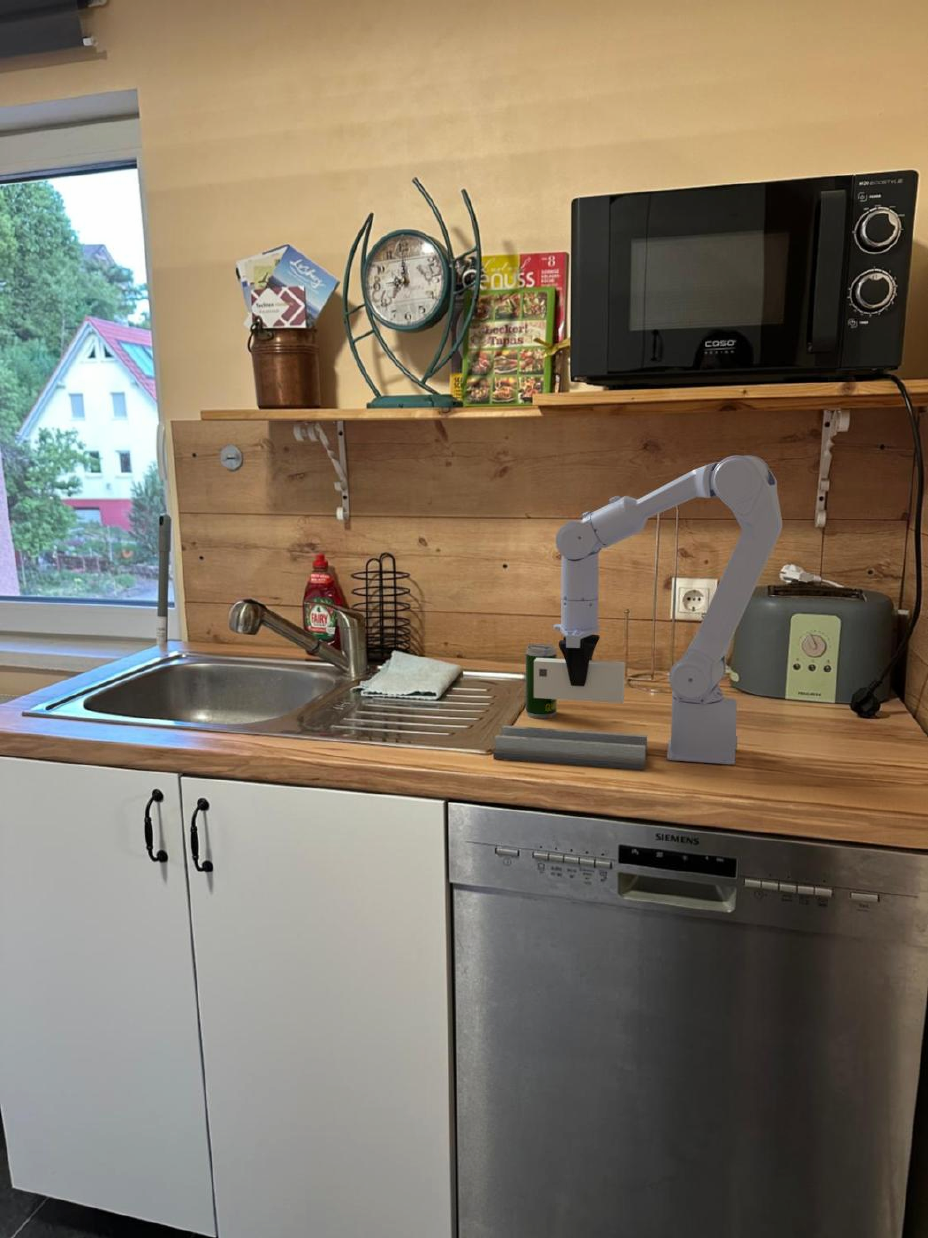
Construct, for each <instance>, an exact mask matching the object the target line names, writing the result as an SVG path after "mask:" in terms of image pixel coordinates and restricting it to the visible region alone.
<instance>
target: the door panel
mask: <svg viewBox="0 0 928 1238" xmlns="http://www.w3.org/2000/svg"><path fill="white" fill-rule="evenodd" d="M625 669H626V662H625V661H612V660H611V661H609V660H606V661H605V660H593V659H592V660H590V661H589V666H588V672H587V678H586V682H585V685H584V686H571V683H570V680H569V675H568V669H567V665H566V661H565V658H557V659H552V658H536V659H535V660H534V698H545V699H557V700H562V701H563V700H565V701H578V702H579V701H580V702H597V703H611V704H613V703H614V704H623V703H624V701H625V675H626V674H625V672H626V671H625Z"/></svg>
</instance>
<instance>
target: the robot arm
mask: <svg viewBox="0 0 928 1238" xmlns="http://www.w3.org/2000/svg"><path fill="white" fill-rule="evenodd" d="M716 497H718V499H720V500H721V501H722V503H724V504H725V506H727V507H728V508H729V509H730V510H731V511H732V513H733V515H734V517H735V519H736V521H737V523H738V525H739V527H740V528H741V533H740V536H739V537H738V540H737V542H736V544H735V547H734V548H733V551H732V553H731V556H730V558H729V559H728V562H727V565H726V567H725V569H724V571H723V573H722V576H721V577H720V580H719V583H718V585H717V587H716V590H715V592H714V594H713V596H712V598H711V600H710V603H709V605H708V608H707V610H706V612H705V614H704V617H703V619H702V621H701V624H700V626H699V627H698V630H697V632H696V634H695V635H694V637H693V638H692V641H690V644H689V645H688V647H687V648H686V651H685V653H684V655H683V656H682V657H681V658H680V659H679V660H677V661H676V662H675V663H674V664H673V665H672V667H671V668H670V671H669V674H668V681H669V685H670V688H671V690H672V693H671V717H670V718H671V720H670V721H671V722H670V723H671V725H670V726H671V727H670V740H668V744H667V753H666V754H667V755H666V760H667V761H677V762H678V761H679V762H681V761H682V762H690V763H691V762H692V763H704V764H717V765H720V764H721V765H736V749H738V736H737V725H738V724H737V722H738V721H737V719H738V718H737V716H738V715H737V714H738V713H737V712H738V706H737V705H738V702H737V699H736V698H733V697H732V698H731V697H726V696H724V692H723V691H722V689H721V687H720V685H719V683H720V682H722V680H723V679H724V677H725V675H726V671H727V663H726V659H727V655H728V652H729V650H730V647H731V642H732V639H733V637H734V635H735V633H736V630H737V628H738V626H739V624H740V622H741V619H742V618H743V615H744V613H745V611H746V609H747V606H748V604H749V602H750V600H751V598H752V595H753V593H754V591H755V589H756V586H757V584H759V583H758V582H759V581H760V578H761V576H762V574H763V571H764V569H765V567H766V565H767V563H768V561H769V559H770V556H771V554H772V552H773V550H774V547H775V545H776V544H777V542H778V539H779V537H780V535H781V532H782V529H783V518H782V512H781V508H780V507H781V506H780V501H779V495H778V481H777V478H776V477H775V475H774V473H773V472H772V470H771V469H770V467H769V466H768V464H767V462H766V461H764V460H763V459H762V458H761V457H758V456H755V455H731V456H728V457H725V458H724V459H722V460H721V461H719V462H718V461H715V462H712V463H709V464H705V465H703V466H701V467H697V468H695V469H693V470H691V471H689V472H687V473H685V474H683V475H681V476H679V477H677V478H676V479H674V480H672V481H670V482H669V483H668V482H667V483H666V484H665V485H663V486H660V487H659V488H657V489H655V490H653V491H651V492H649V493H648V494H646V495H644V496H642V497H641V498H638V499H637V498H634V497H631V496H629V495H625V496H624V495H623V497H621V496H620V495H616V496H613V497H611V498H609V504H606V505H604V506H602V507H600V508H599V509H597V510H594V511H592V512H591V511H590V510H589V511H586V512H584V513H581V514H582V519H580V520H575V519H574V520H568V521H567V522H566V523H565V524H563V525H562V526H561V527H560V528H559V529H558V530H557V533H556V536H555V547H556V549H557V551H558V552H559V554H560V555H561V566H560V567H561V569H560V571H561V572H560V573H561V574H560V577H561V578H560V580H561V581H560V584H561V585H560V591H561V593H560V598H561V600H560V601H561V602H560V603H561V604H560V605H561V606H560V607H561V608H560V620H561V621H560V623H555V624H554V625H553V631H559V632H560V633H561V634H562V635H564V637H563V638H562V640H561V639H560V640H559V642H558V647H559V648H558V649H559V650H560V652H561V653H562V655H563V659H565V661H566V665H567V669H568V675H569V680H570V683H571V686H584V685H585V682H586V678H587V672H588V666H589V661H590V660H592V661H593V656H594V655H593V654H594V652H595V649H596V646H597V644H598V642H599V641H600V638H601V637H600V635H598V634H597V633H599V632H600V625H599V573H600V571H599V570H600V569H599V553H600V552H601V551H602V549H606V548H608V547H611V546H613V545H616V544H617V543H619V542H621V541H623V540H626V539H628V538H630V537H632V536H635V535H637V534H639V533H640V532H642V531H643V530H644V528H645V526H646V523H647V521H648V519H649V518H651V517H653V516H656V515H658V514H660V513H663V512H665V511H668V510H670V509H672V508H675V507H676V506H679V505H681V504H684V503H685V502H687V501H690V500H692V499H695V498H704V499H706V498H707V499H710V498H716Z"/></svg>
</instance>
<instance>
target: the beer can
mask: <svg viewBox="0 0 928 1238" xmlns="http://www.w3.org/2000/svg"><path fill="white" fill-rule="evenodd" d="M557 657H558V652H557V651H556V646H555V645H553V644H548V643H547V644H546V643H535V644H534V643H533V644H530V645H527V646H526V650H525V711H526V714H527V715H528V716H529V717H530V718H534V719H549V718H552V717H554V716H555V715H556V713H557V711H558V709H557V707H558V705H557V703H558V701H557V700H558V699H545V698H534V660H535V659H536V658H552V659H558V658H557Z"/></svg>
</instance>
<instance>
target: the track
mask: <svg viewBox="0 0 928 1238" xmlns="http://www.w3.org/2000/svg"><path fill="white" fill-rule="evenodd" d="M492 754H493V755H492V758H497V759H496V760H503V759H509V760H508V761H516V760H518V762H528V761H530V763H533V762H534V763H541V762H542V763H543V764H544V763H545V764H554V763H555V764H556V765H569V766H580V765H583V767H591V768H592V767H595V768H607V769H619V770H620V769H621V770H632V771H645V767H646V762H647V761H646V760H647V757H648V756H647V754H648V734H639V733H637V734H636V733H621V732H611V731H610V732H607V731H593V730H580V729H579V730H578V729H577V730H576V729H562V728H551V727H550V728H549V727H534V726H533V727H532V726H517V725H516V726H515V725H503V724H502V727H501V735H500V734H499V735H498V734H496V735H495V736H494V750H493V752H492ZM542 763H541V764H542Z"/></svg>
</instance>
